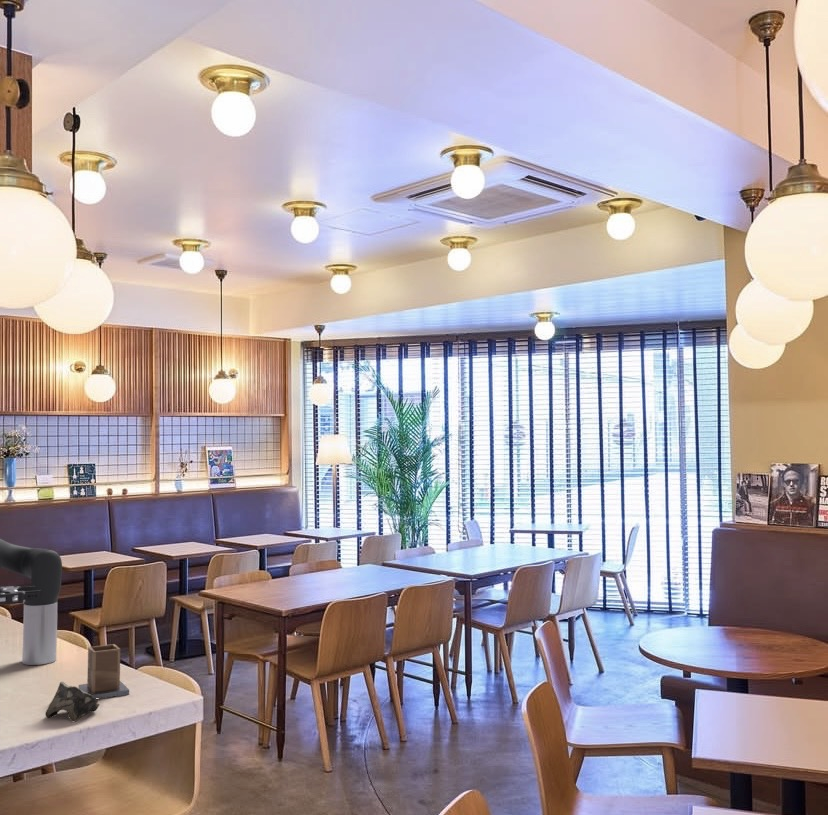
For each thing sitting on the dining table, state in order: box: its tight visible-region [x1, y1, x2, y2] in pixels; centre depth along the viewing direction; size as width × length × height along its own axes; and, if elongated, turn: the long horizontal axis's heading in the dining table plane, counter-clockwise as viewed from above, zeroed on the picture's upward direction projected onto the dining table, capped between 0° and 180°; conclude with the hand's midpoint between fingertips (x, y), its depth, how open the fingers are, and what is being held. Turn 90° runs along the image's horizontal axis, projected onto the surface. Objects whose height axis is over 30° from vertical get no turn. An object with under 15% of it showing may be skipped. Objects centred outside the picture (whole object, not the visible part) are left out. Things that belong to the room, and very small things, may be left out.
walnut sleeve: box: [86, 643, 121, 692], centre depth 212 cm, size 7×7×10 cm
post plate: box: [78, 680, 130, 699], centre depth 212 cm, size 12×10×8 cm
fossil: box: [44, 681, 100, 722], centre depth 192 cm, size 11×9×10 cm
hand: (39, 592), depth 210 cm, fingers open, 8 cm apart
